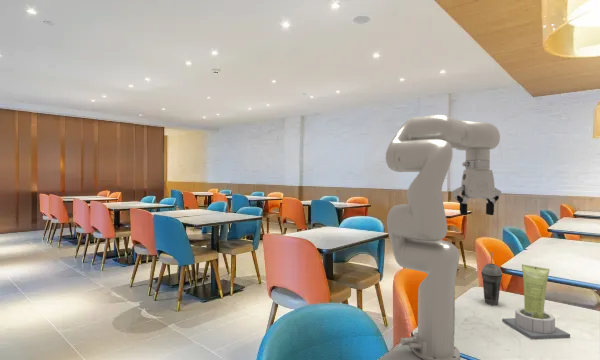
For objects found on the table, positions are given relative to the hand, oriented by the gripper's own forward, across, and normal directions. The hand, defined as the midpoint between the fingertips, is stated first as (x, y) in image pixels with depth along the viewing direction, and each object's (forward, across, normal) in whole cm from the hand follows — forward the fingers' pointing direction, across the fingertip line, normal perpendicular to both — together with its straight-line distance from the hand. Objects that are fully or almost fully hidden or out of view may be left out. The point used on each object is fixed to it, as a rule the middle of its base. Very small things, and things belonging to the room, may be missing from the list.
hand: (476, 214), depth 121 cm
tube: (+36, +14, -10) cm, 39 cm away
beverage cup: (+36, +15, +13) cm, 42 cm away
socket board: (+36, +14, -10) cm, 40 cm away
